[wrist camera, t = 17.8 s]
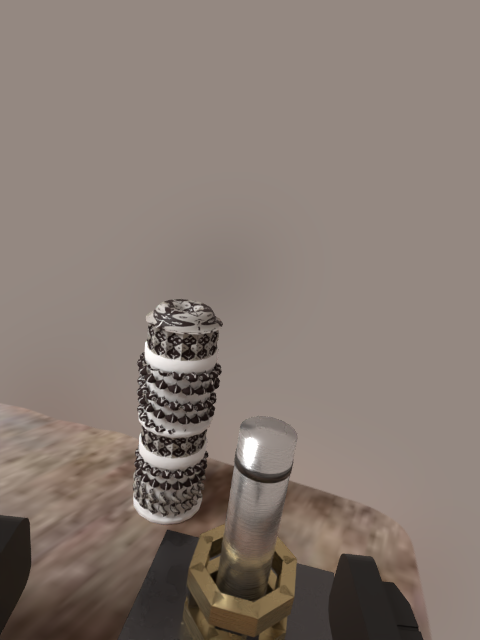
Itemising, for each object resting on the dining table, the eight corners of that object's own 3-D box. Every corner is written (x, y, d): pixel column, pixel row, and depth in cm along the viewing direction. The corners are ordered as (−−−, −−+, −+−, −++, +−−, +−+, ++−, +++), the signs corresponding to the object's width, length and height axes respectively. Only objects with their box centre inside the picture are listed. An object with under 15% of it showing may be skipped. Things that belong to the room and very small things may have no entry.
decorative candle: (122, 525, 47) (133, 315, 39) (136, 470, 56) (148, 289, 48) (203, 530, 48) (230, 326, 40) (205, 475, 57) (227, 298, 49)
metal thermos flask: (205, 632, 36) (234, 441, 30) (217, 585, 40) (244, 411, 34) (257, 646, 35) (296, 455, 30) (263, 598, 40) (299, 422, 34)
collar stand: (104, 680, 33) (107, 612, 31) (166, 540, 46) (171, 484, 44) (334, 753, 31) (357, 685, 28) (330, 583, 44) (346, 527, 41)
